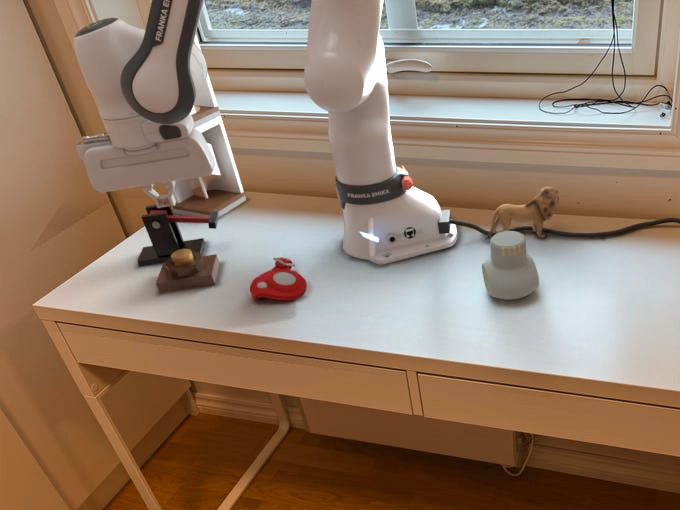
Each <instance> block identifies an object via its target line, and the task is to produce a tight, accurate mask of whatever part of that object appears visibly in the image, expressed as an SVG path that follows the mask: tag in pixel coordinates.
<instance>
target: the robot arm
mask: <svg viewBox="0 0 680 510" xmlns="http://www.w3.org/2000/svg"><path fill="white" fill-rule="evenodd" d="M204 3H205V0H151V3H150V7H149V11H148V12H149V13H148V17H147V20H146V27H145V29H143V28H141V27H137V26H134V25H131V24H129V23H127V22H125V21H124V20H122V19H120V18H119V17H109V18H103V19H100V20H97V21H95V22H92V23H90V24H89V25H85V26H84V27H82V28H81V29H80V30H79V31H77V33H76V34H75V35H74V38H73V47H74V52H75V56H76V59H77V63H78V66H79V69H80V71H81V74H82V77H83V79H84V82H85V85H86V86H87V89H88V90H89V92H90V93H91V95H92V96H93V97H94V99H95V100H96V103H97V106H98V113H99V117H100V119H101V121H102V124H103V127H104V128H105V131H106V132H102V133H98V134H94V135H93V134H92V135H84V136H81V138H80V139H79V140H77V142H76V143H75V150H76V152H77V154H78V157H79V158H80V160H81V161H82V162H83V163H84V166H85V170H86V175H87V178H88V180H89V183H90V185H91V187H92V189H94V190H95V191H96V192H98V193H100V194H101V193H102V194H103V193H110V192H115V191H122V190H128V189H133V188H135V189H136V188H140V187H141V188H142V191H143V193H144V194H145V195H146V196H148V197H149V198H151V200H153V201H154V203H155V205H156V206H157V208H163V207H169V206H171V207H173V206H175V204H176V201H175V198H174V195H173V192H174V187H175V183H176V182H175V181H179V180H185V179H191V178H198V177H204V176H210V175H211V174H212V172H213V171H214V168H215V161H214V158H213V155H212V153H211V150H210V148H209V146H208V144H207V142H206V140H205V138H204V137H203V135H202V134H201V133H200V132H199V131H198V130H196V129H194V128H193V126H194V121H193V118H192V116H191V115H190V112H191V110H192V108H193V105H194V102H195V99H196V97H197V96H198V94H199V92H200V90H201V88H202V87H203V85H204V82H205V80H206V77H207V72H208V63H207V60H206V58H205V55H204V53H203V52H202V49H201V50H200V49H199V48H198V47H197V46H196V45H195V44H194V40H195V36H196V35H197V31H198V27H199V23H200V19H201V14H202V12H203V11H202V10H203V8H204ZM383 6H384V0H311V1H310V8H309V9H310V10H309V20H308V27H307V41H306V53H305V54H306V55H305V65H304V72H303V83H304V88H305V90H306V93H307V94H308V96H309V98H310V99H311V101H312V102H313V103H314V104H315V105H316V106H317V107H319V108H320V109H322V110H324V111H326V112H327V116H328V130H327V133H328V134H327V135H328V142H329V146H330V151H331V156H332V161H333V165H334V170H335V177H334V178H335V183H334V185H335V190H336V195H337V199H338V204H339V205H340V208H341V209H342V219H343V220H342V221H343V241H342V249H343V251H344V252H345V253H346V254H348V255H349V256H351V257H354V258H357V259H361V260H367V261H370V262H372V263H374V264H376V265H385V264H390V263H394V262H398V261H402V260H406V259H410V258H414V257H418V256H421V255H426V254H429V253H433V252H438V251H441V250H444V249H445V250H446V249H448V248H451V247H453V246H454V245H455V244H456V243H457V240H458V231H457V230H458V229H457V226H460V227H466V228H469V229H473V230H474V231H477V232H479V233H480V234H482V235H484V236H487V235H488V234H489V232H490V230H486V229H484V228H482V227H481V226H479V225H477V224H474V223H472V222H467V221H463V220H457V219H452V213H451V209H442V208H441V205H440V204H439V202H438V201H437V200H436V199H435V197H434V196H433V195H431V194H430V193H428V192H425V191H423V190H421V189H419V188H417V187H415V186H414V183H413V182H414V181H413V179H412V177H411V176H409V172H408V171H407V170H406V168H405V166H404V165H401V167H400V166H398V165H397V164H396V157H395V151H394V145H393V137H392V131H391V130H392V129H391V120H390V103H389V102H390V101H389V87H388V86H389V83H388V74H387V65H386V52H385V44H384V42H383V41H384V40H383V38H382V35H381V34H380V27H381V19H382V12H383ZM159 184H163V186H164V188H165V189H168V192H167V193H164V194H159V193H158V192H157V191H156V190H155V189H154V186H155V185H159ZM668 223H669V224H670V223H675V224H679V225H680V218H678V217H665V218H660V219H655V220H651V221H644V222H643V221H642V222H639V223H634V224H632V225H629V226H625V227H623V228H619V229H615V230H609V231H599V232H598V231H597V232H575V231H574V232H572V231H571V232H570V231H561V230H556V229H551V228H547V227H543V229H542V233H544V234H545V233H546V234H549V235H553V236H559V237H566V238H584V239H585V238H587V239H589V238H604V237H612V236H617V235H622V234H624V233H628V232H630V231H633V230H636V229H641V228H642V229H643V228H646V227H652V226H659V225H663V224H668ZM532 227H533V225H521V226H516V227H511V228H509V230H508V231H516V232H525V231H526V232H528V231H529V232H530V231H531V232H532V231H533V230H534V229H533V228H532ZM497 231H498V233H499V232H503V230H497ZM533 232H534V231H533ZM495 234H496V233H493V232H492V235H491V237H493V236H494V235H495Z"/></svg>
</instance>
